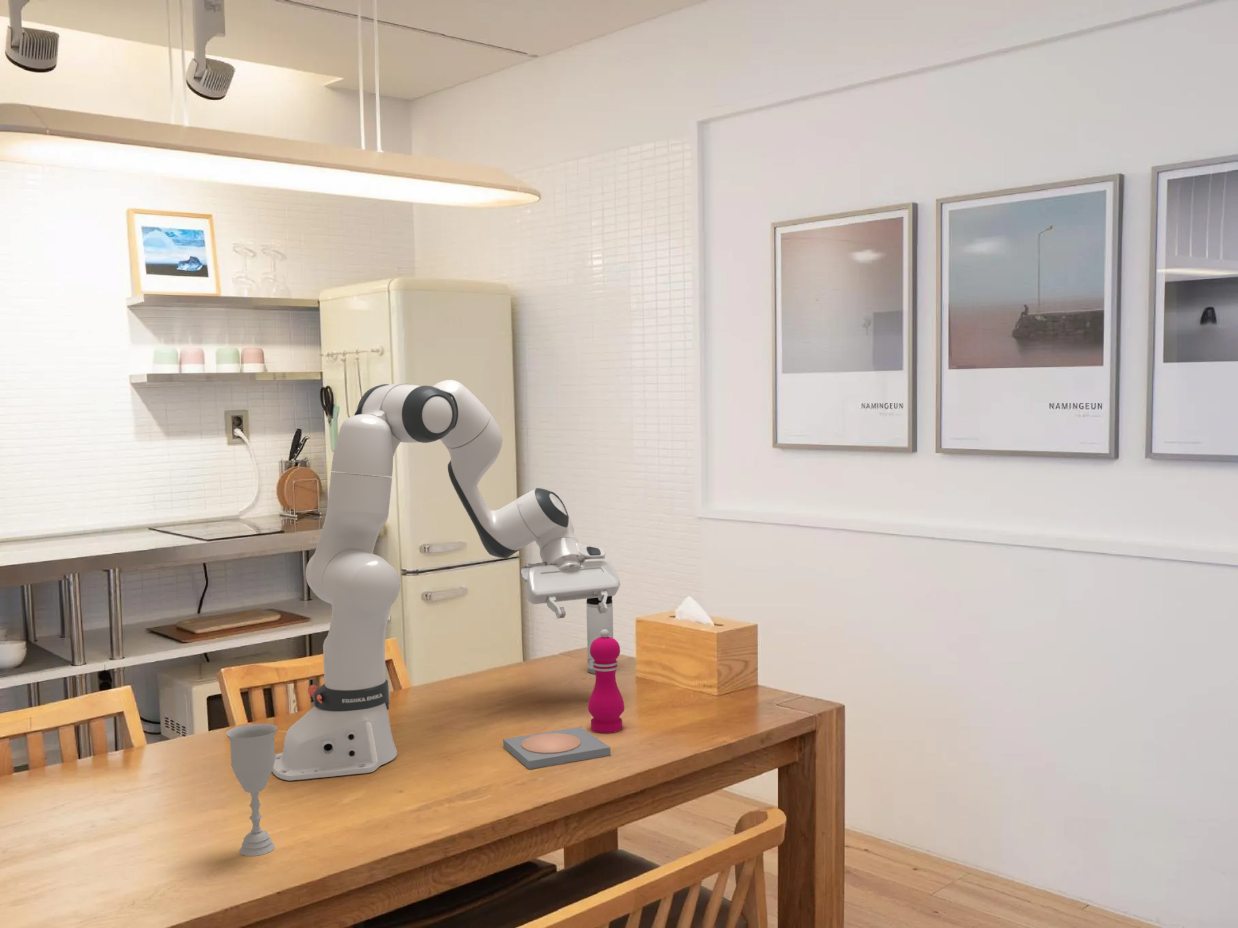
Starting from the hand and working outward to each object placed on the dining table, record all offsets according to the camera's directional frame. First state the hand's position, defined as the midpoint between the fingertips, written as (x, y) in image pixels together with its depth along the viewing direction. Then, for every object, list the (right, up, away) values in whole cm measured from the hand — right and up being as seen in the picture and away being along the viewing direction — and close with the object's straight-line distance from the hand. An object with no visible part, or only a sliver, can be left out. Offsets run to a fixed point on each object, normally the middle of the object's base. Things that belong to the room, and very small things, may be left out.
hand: (582, 614), depth 227 cm
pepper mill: (+5, -22, -8) cm, 24 cm away
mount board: (-4, -23, -21) cm, 32 cm away
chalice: (-47, -27, -63) cm, 83 cm away
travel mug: (+3, -19, +36) cm, 41 cm away
